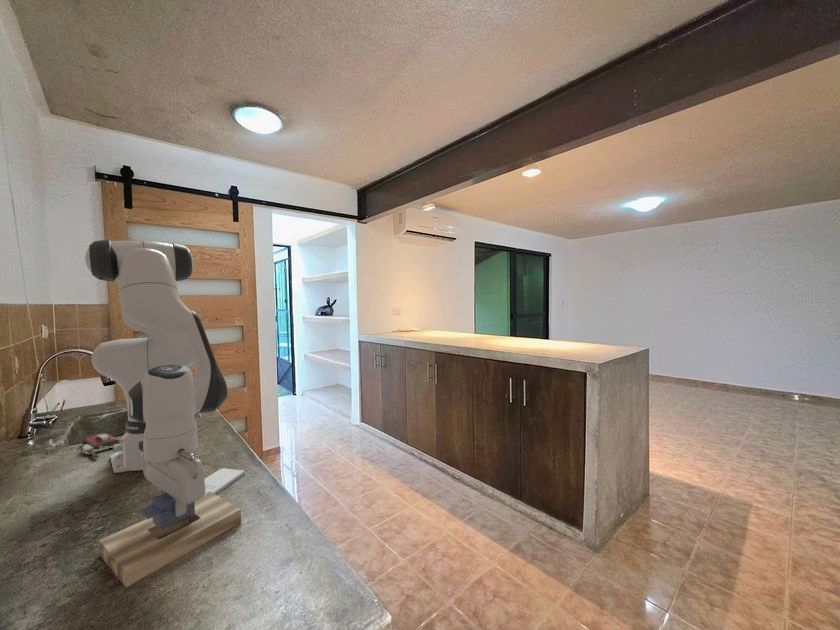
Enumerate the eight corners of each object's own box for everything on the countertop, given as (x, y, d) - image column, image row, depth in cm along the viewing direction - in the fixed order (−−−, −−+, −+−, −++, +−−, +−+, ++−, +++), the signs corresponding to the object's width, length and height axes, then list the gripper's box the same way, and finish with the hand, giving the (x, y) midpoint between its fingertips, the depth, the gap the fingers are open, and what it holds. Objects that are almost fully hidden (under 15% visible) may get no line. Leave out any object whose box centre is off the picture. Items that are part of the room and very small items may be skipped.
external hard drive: (245, 476, 95) (209, 501, 83) (221, 473, 97) (182, 497, 85) (245, 470, 95) (209, 494, 83) (221, 467, 97) (182, 491, 85)
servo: (140, 527, 66) (139, 499, 65) (196, 502, 74) (195, 476, 74) (148, 535, 63) (147, 505, 63) (204, 507, 72) (204, 481, 72)
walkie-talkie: (74, 448, 114) (92, 462, 104) (73, 436, 114) (92, 448, 104) (108, 439, 122) (128, 451, 111) (107, 427, 122) (127, 439, 111)
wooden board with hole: (99, 555, 64) (99, 540, 64) (209, 502, 81) (209, 490, 81) (126, 587, 57) (125, 570, 57) (241, 522, 74) (240, 509, 74)
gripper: (213, 449, 65) (215, 518, 66) (168, 430, 76) (170, 488, 77) (176, 463, 60) (179, 537, 60) (134, 439, 71) (136, 502, 71)
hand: (174, 509), depth 69 cm, fingers closed on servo, 4 cm apart
